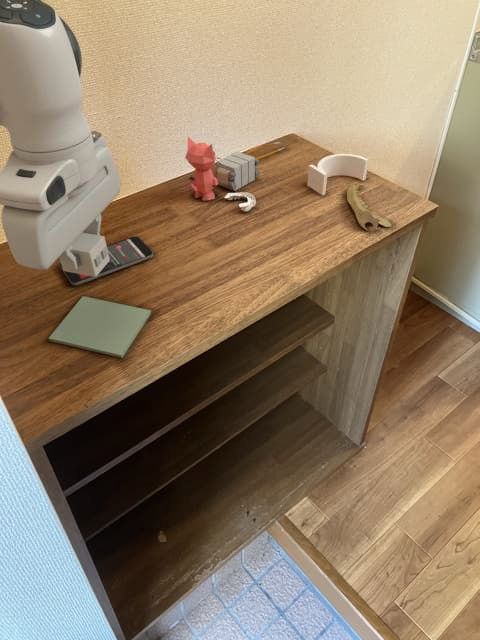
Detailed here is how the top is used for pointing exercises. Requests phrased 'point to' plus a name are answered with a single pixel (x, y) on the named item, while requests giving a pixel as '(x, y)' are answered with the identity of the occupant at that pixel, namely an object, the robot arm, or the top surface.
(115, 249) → the smartphone
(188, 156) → the cat figurine
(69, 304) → the top surface
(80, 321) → the desk mat
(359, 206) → the mandible
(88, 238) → the block
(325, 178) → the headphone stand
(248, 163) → the electrical component
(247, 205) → the dentures
